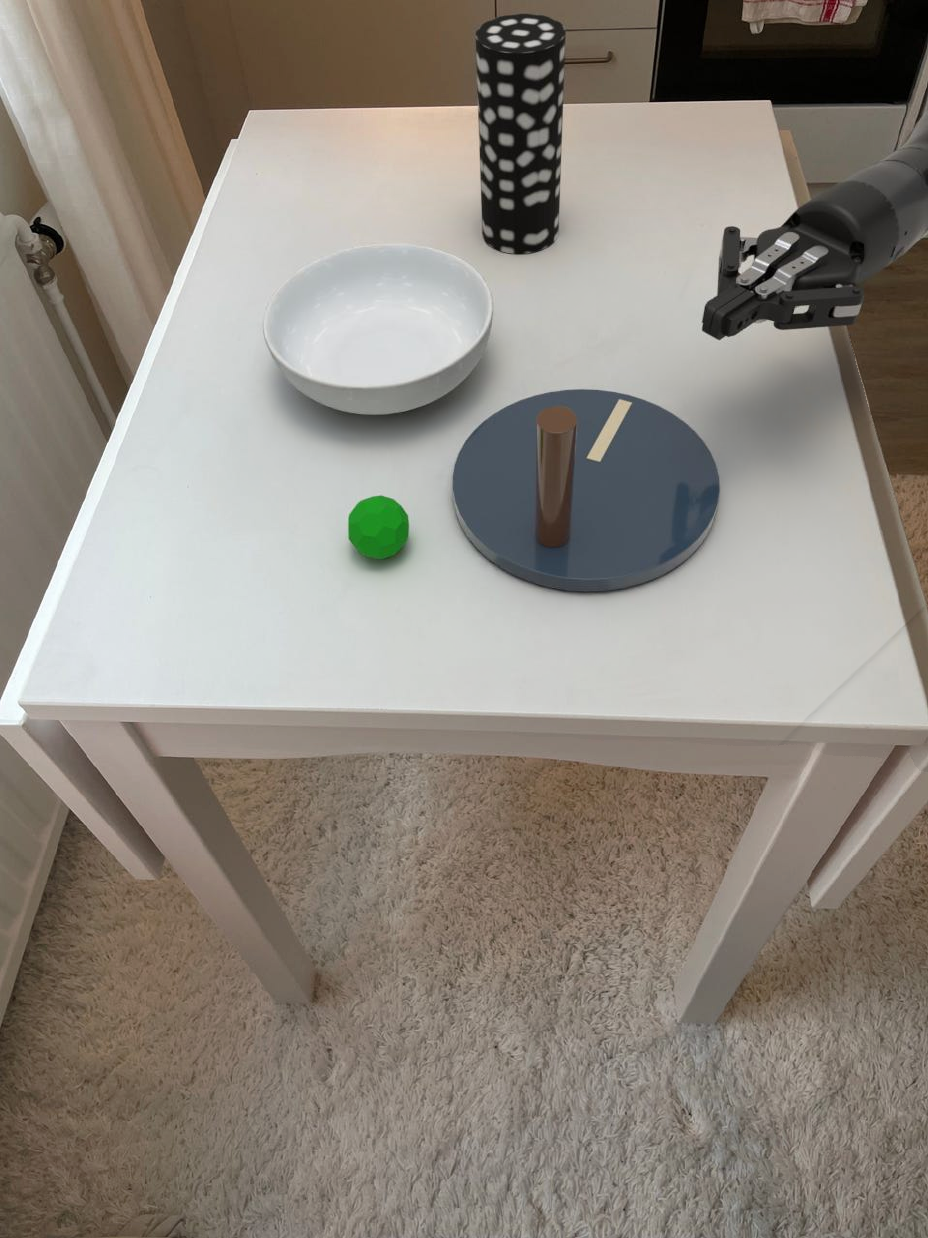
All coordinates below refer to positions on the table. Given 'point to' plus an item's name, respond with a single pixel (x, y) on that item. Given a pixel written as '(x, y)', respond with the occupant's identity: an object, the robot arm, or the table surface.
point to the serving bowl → (379, 327)
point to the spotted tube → (520, 130)
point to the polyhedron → (378, 527)
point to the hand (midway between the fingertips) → (711, 325)
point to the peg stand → (585, 490)
